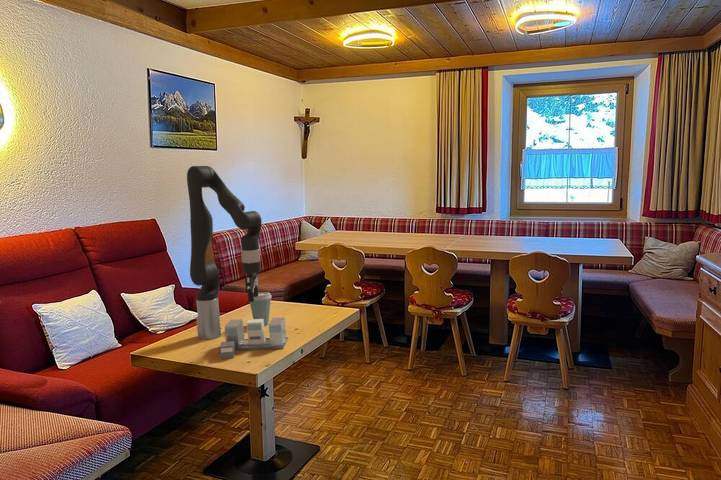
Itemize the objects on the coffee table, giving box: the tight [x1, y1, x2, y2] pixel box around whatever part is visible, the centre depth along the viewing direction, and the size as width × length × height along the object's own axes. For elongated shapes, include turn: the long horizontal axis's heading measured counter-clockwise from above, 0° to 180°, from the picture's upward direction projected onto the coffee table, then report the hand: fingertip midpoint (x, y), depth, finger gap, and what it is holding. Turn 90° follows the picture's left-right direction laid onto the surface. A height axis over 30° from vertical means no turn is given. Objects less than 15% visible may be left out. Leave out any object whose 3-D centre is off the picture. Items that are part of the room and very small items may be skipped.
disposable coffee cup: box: [249, 292, 273, 326], centre depth 254 cm, size 11×11×15 cm
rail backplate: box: [224, 317, 289, 352], centre depth 224 cm, size 24×12×10 cm, turn 89°
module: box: [246, 318, 266, 344], centre depth 224 cm, size 6×5×9 cm
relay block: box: [219, 341, 236, 360], centre depth 212 cm, size 5×6×5 cm
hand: (253, 299), depth 222 cm, fingers open, 8 cm apart
